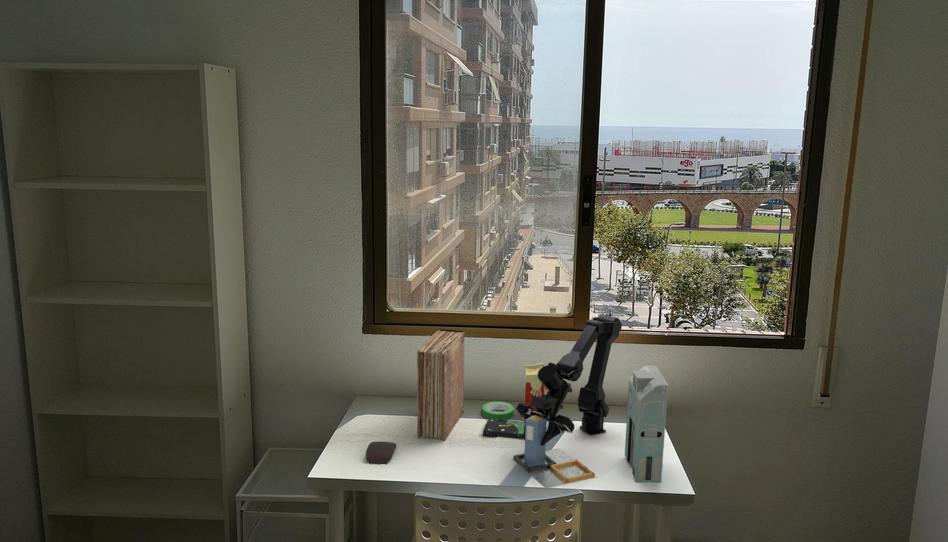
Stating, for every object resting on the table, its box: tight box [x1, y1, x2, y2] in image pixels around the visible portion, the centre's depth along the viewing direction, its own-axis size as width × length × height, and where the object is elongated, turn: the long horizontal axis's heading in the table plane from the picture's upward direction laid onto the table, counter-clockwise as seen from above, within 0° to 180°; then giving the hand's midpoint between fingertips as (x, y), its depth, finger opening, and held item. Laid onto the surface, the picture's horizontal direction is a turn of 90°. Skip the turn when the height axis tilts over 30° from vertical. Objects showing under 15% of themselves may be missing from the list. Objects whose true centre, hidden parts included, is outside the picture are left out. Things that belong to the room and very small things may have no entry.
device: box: [624, 365, 669, 483], centre depth 231 cm, size 16×8×30 cm, turn 0°
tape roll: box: [482, 401, 515, 420], centre depth 274 cm, size 11×11×3 cm
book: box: [416, 328, 465, 442], centre depth 261 cm, size 25×9×30 cm, turn 166°
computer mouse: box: [365, 441, 397, 465], centre depth 242 cm, size 8×14×4 cm, turn 174°
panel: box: [511, 448, 597, 489], centre depth 234 cm, size 17×21×2 cm
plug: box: [524, 415, 548, 466], centre depth 235 cm, size 6×4×14 cm
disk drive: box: [482, 418, 525, 440], centre depth 259 cm, size 10×3×15 cm
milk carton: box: [522, 362, 548, 421], centre depth 271 cm, size 9×9×20 cm
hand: (532, 442), depth 234 cm, fingers open, 6 cm apart
